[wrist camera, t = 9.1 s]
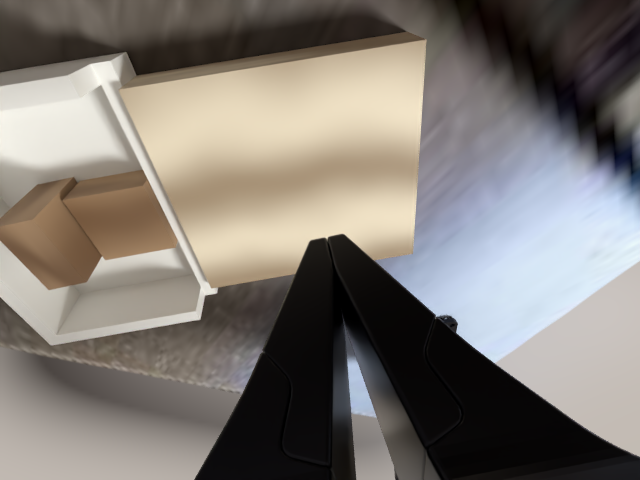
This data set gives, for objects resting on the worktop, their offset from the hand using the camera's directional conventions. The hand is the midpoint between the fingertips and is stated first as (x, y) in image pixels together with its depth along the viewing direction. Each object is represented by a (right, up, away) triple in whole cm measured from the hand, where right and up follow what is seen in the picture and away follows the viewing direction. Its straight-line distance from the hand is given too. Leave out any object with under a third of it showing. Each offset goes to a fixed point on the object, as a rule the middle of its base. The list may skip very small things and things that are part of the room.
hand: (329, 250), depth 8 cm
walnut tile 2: (-11, +2, +11) cm, 16 cm away
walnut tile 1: (-13, +1, +9) cm, 16 cm away
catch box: (-13, +2, +11) cm, 18 cm away
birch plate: (-2, +4, +12) cm, 13 cm away
